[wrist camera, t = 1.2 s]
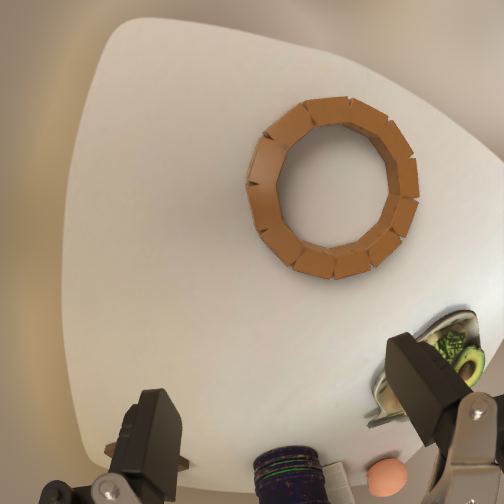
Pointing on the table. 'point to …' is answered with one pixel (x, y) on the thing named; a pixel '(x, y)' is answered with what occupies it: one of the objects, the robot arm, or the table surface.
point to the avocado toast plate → (451, 348)
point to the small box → (337, 484)
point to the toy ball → (386, 477)
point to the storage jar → (290, 477)
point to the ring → (394, 213)
